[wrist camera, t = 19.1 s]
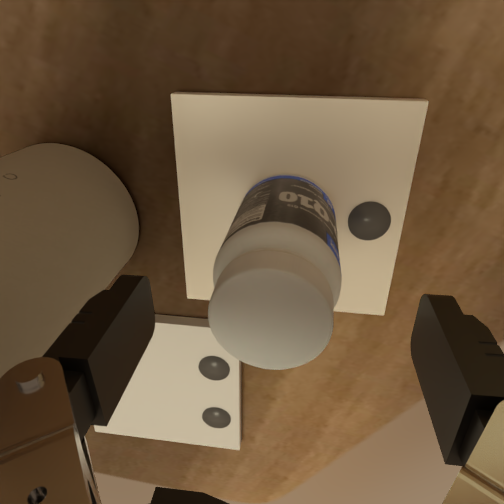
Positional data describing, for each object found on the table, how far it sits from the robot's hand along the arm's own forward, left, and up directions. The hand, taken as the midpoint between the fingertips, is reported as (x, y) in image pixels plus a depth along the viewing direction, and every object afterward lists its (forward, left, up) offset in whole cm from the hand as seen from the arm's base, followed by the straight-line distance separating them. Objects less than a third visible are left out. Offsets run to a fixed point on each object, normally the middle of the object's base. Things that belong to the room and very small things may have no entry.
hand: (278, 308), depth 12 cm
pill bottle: (+1, 0, -9) cm, 9 cm away
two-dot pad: (+14, -8, -9) cm, 18 cm away
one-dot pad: (+1, 0, -9) cm, 9 cm away
